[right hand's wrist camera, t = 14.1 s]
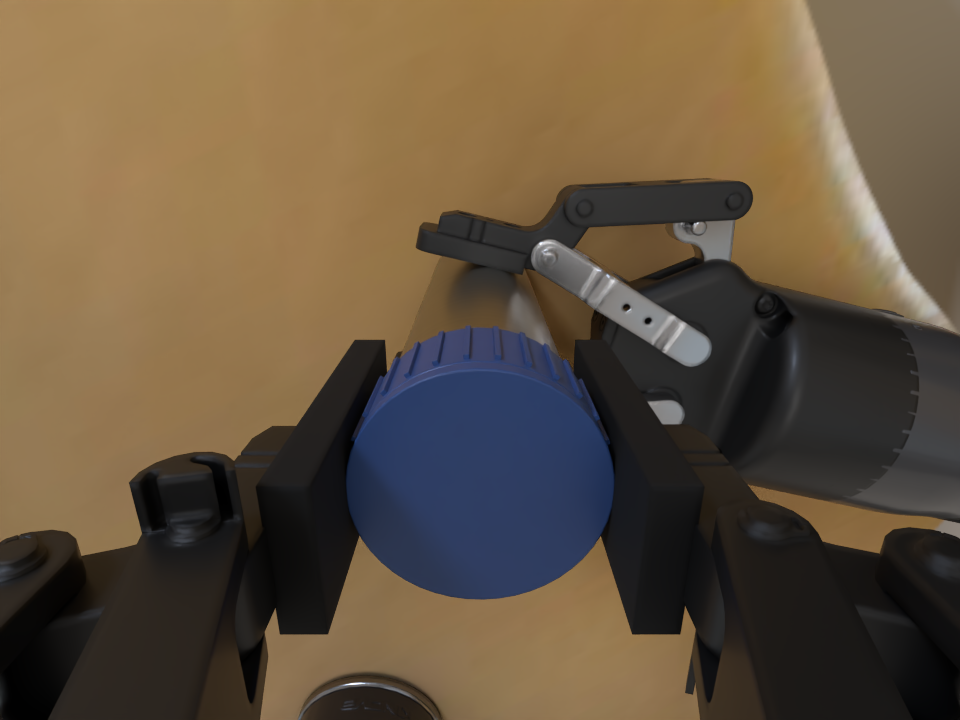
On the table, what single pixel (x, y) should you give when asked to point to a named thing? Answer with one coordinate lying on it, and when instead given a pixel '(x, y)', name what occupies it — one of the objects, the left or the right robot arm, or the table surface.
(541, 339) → the bottle
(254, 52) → the table surface
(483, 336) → the lid
